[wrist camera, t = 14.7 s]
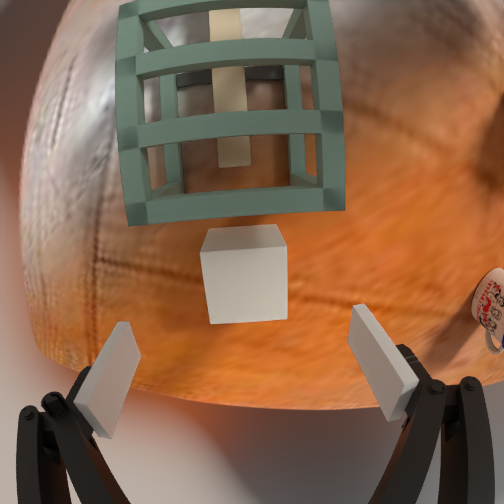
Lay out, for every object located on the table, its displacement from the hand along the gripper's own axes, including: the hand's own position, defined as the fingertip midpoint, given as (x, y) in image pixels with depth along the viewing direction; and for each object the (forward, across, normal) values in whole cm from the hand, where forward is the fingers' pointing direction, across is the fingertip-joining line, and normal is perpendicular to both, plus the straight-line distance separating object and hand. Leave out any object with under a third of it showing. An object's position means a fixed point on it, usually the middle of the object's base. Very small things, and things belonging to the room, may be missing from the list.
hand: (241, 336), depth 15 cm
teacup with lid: (+11, +36, -10) cm, 39 cm away
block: (+11, 0, 0) cm, 11 cm away
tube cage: (+11, 0, +13) cm, 17 cm away
